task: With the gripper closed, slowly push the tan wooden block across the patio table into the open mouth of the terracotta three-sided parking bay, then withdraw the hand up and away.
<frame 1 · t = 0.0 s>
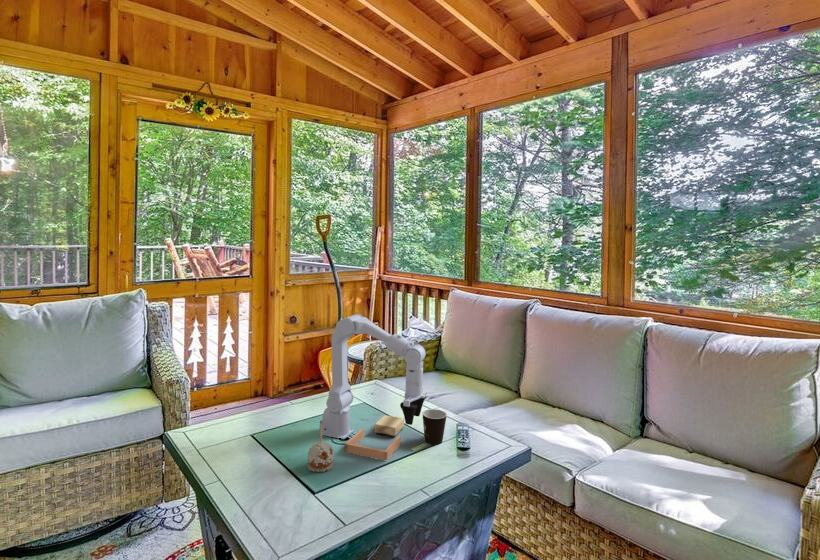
hand: (412, 419, 157), 10 cm above the table, fingers open, 7 cm apart
parking bay: (373, 447, 157), on the table
coffee mug: (434, 439, 166), on the table
decorative ornament: (320, 467, 143), on the table
tan wooden block: (389, 431, 170), on the table
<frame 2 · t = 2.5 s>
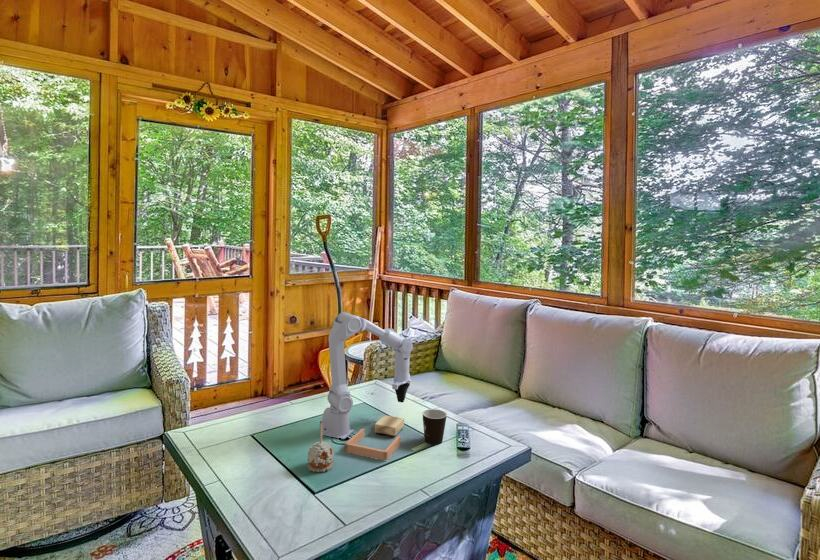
hand: (400, 401, 180), 8 cm above the table, fingers closed
nothing on the table moved.
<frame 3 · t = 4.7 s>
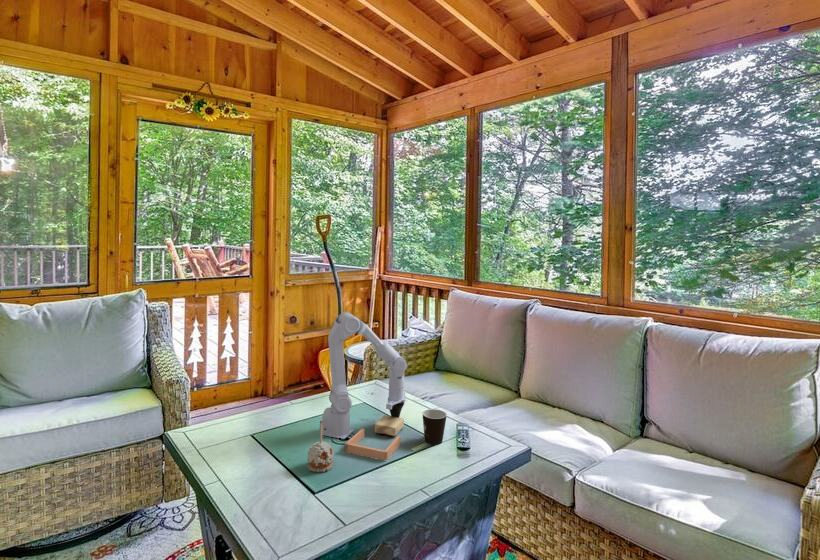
hand: (395, 421, 176), 2 cm above the table, fingers closed
tan wooden block: (389, 431, 170), on the table, touching gripper
everything else where it was.
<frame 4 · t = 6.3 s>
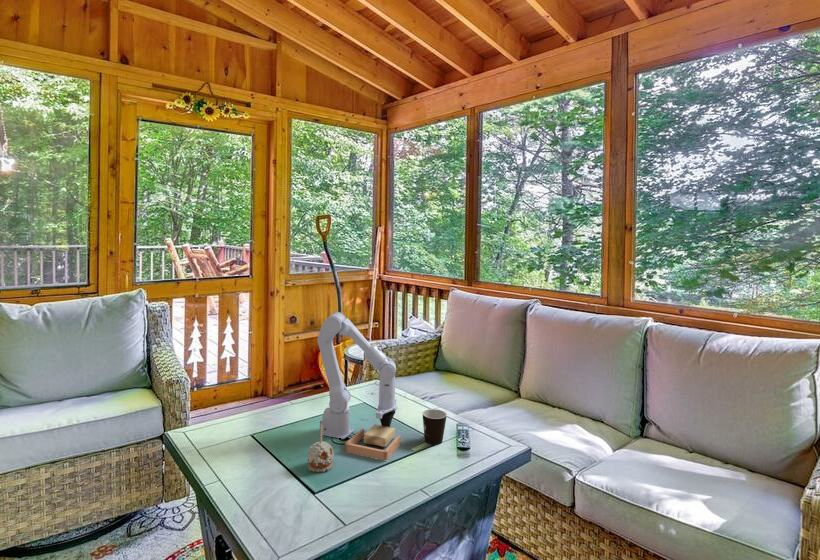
hand: (385, 430, 167), 2 cm above the table, fingers closed
tan wooden block: (379, 442, 162), on the table, touching gripper
everything else where it was.
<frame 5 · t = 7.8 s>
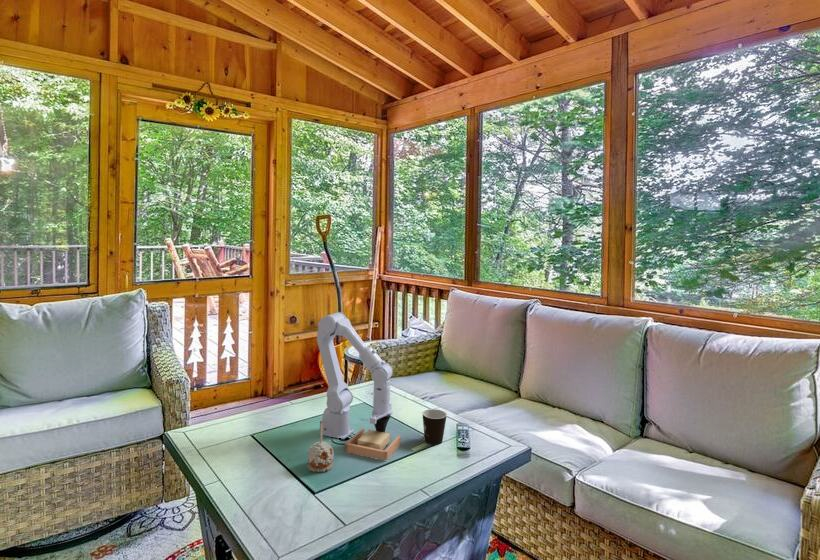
hand: (380, 435, 162), 2 cm above the table, fingers closed
tan wooden block: (373, 447, 157), on the table, touching gripper
everything else where it was.
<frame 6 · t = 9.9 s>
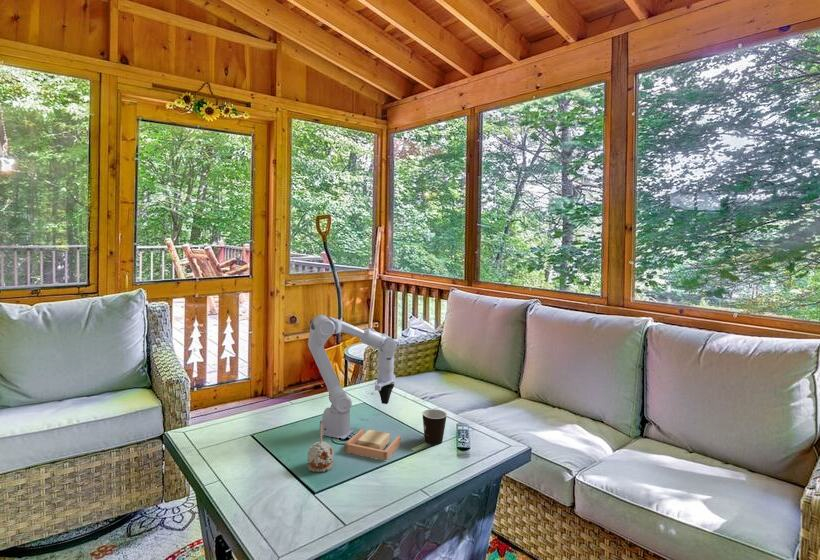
hand: (384, 403, 173), 9 cm above the table, fingers closed
tan wooden block: (373, 448, 157), on the table
everything else where it was.
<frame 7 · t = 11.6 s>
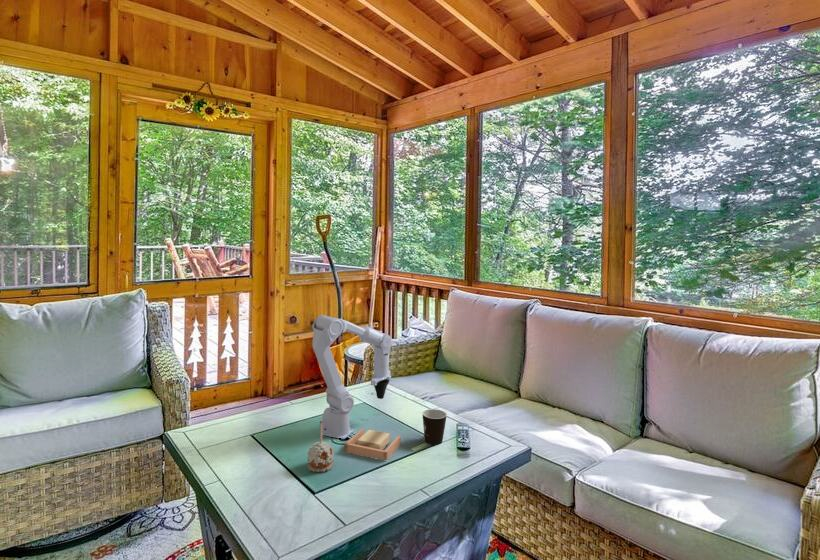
hand: (380, 398, 178), 9 cm above the table, fingers closed
nothing on the table moved.
at the end: tan wooden block inside the target area (0.3 cm from its centre), on the table; tan wooden block tilted 0°; the gripper is holding nothing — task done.
